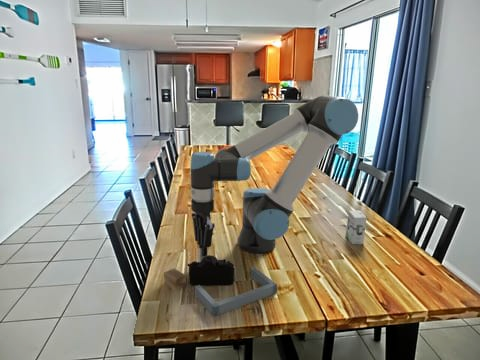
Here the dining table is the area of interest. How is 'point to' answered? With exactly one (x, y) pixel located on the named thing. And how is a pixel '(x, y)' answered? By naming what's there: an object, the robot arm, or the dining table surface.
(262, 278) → the bay
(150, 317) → the dining table surface
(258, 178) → the dining table surface
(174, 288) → the oak chock block
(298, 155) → the robot arm
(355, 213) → the ink box
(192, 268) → the film camera
